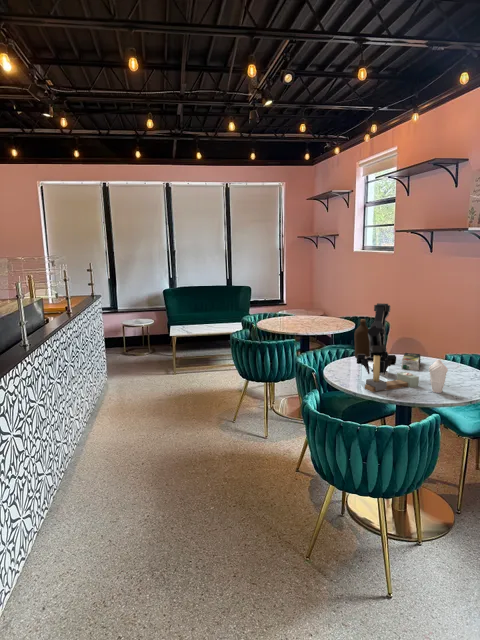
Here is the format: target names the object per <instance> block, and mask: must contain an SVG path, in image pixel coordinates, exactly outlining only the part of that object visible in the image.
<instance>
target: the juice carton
mask: <svg viewBox="0 0 480 640" xmlns="http://www.w3.org/2000/svg"><path fill="white" fill-rule="evenodd" d="M400 367H401V370H404V369H405V370H412V371H419V370H420V367H421V354H420V353H412V352H411V353H408V352H405V353H404V354H403V357H402V359H401V366H400Z"/></svg>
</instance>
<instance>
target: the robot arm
mask: <svg viewBox="0 0 480 640" xmlns="http://www.w3.org/2000/svg"><path fill="white" fill-rule="evenodd" d="M373 306H374V307H373V312H375V316H374V321H373V323H371V325H370V328H369V327H368V328H369V330H368V336H369V340H370V357H367V356H365V354H357V358H356V364H358V365H361V366H363V367H364V369H365V371H366V372H367V374H368V375H370V366H369V365H370V364H369V361H370V362H372V363H373V364H374V355H379V356H380V374H383V375H384V376H385V375H386V373H388V371H387V369H388V367H391V366H395V365H396V362H397V356H396V355H395V354H389V353H388V350H387V344H385V336H386V332H387V331H386V322H387V321H386V320H387V318H388V317H389V316H390V312H391V305H389V303H379V302H378V303H376V304H374V305H373ZM373 364H372V365H373ZM371 372H373V369H371Z"/></svg>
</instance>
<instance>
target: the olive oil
mask: <svg viewBox="0 0 480 640" xmlns="http://www.w3.org/2000/svg"><path fill="white" fill-rule="evenodd" d="M359 322H360V323H359V324H360V325H359V326H358V327H357V328H356V329H355V331H354V333H353V334H354V338H353V339H354V358H356V359H357V354H365V356H367V357H370V340H369V336H368V330H369V327H368V326H367V322H366V319H365V318H361V319H360V320H359Z"/></svg>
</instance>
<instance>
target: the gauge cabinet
mask: <svg viewBox="0 0 480 640" xmlns="http://www.w3.org/2000/svg"><path fill="white" fill-rule="evenodd" d="M396 380H402V381H405V382H407V383H408V388H417V387H419V382H420V377H419V376H417V375H414V374H413V373H411V372H406V371H401V372H397V373H396Z"/></svg>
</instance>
